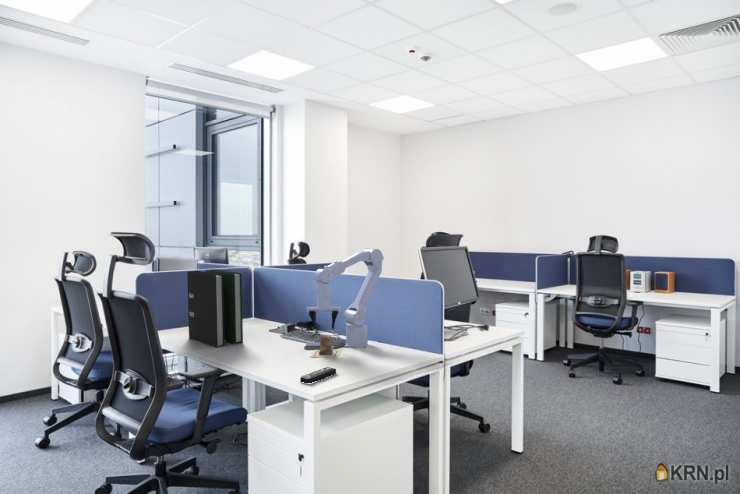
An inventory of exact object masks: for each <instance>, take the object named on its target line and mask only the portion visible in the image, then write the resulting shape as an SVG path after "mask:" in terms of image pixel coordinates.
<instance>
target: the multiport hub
mask: <svg viewBox="0 0 740 494" xmlns="http://www.w3.org/2000/svg"><path fill="white" fill-rule="evenodd" d="M334 374H335V375H337V368H334V367H330V366H326V367H323V368H321V369H319V370H315V371H313V372H309V373H307V374H305V375H301V376H300V380H299V381H300V383H301V382H304V383H312V382H315V381H318V380H320V381H322V380H321V379H323V380H325V379H327V378H326V377H328V378H330V377H332V376H331V375H333V376H335V375H334ZM329 376H330V377H329ZM324 378H325V379H324ZM318 382H319V381H318ZM304 383H303V384H304ZM315 383H316V382H315Z"/></svg>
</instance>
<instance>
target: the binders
mask: <svg viewBox="0 0 740 494" xmlns="http://www.w3.org/2000/svg"><path fill="white" fill-rule="evenodd" d="M186 273H187V275H186V276H187V306H188V307H187V312H188V315H187V318H188V338H189V340H193V341H196V342H198V343H202V344H203V345H204V344H205V345H207V346H210V347H213V348H216V349H218V347H219V346H221V347H225V346H226V344H225V343H229V344H232V345H237V343H240V344H243V343H244V335H243V334H244V332H243V331H244V329H243V326H244V325H243V324H244V323H243V284H242V283H243V282H242V281H243V280H242V277H243V275H242V272H234V271H228V270H222V269H221V270H220V269H205V271H201V270H193V271H192V270H189V271H187V272H186Z"/></svg>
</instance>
